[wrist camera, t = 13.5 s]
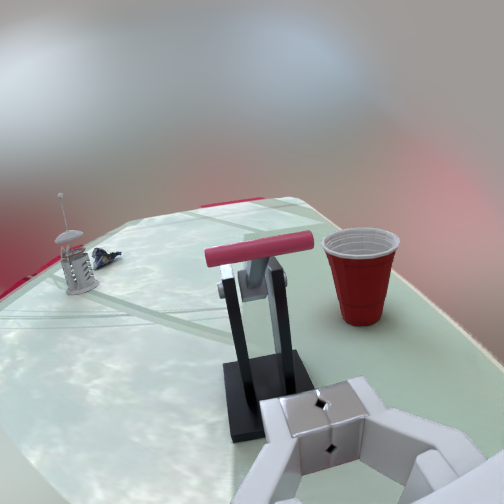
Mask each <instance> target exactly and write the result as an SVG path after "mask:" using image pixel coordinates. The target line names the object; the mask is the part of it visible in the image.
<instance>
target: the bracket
mask: <svg viewBox="0 0 504 504" xmlns="http://www.w3.org/2000/svg"><path fill="white" fill-rule="evenodd" d="M220 269H221V277H222V282H221V283H217V286H218V292H219V297H220V299H223V298H225V299H226V304H227V309H228V314H229V320H230V325H231V330H232V335H233V340H234V345H235V349H236V354H237V359H238V361H235V362H230V363H224V364H223V371H224V380H225V390H226V399H227V408H228V417H229V425H230V434H231V438H232V441H233V443H235V442H241V441H247V440H253V439H258V438H263V437H266V436H265V431H264V425H263V420H262V414H261V408H260V401H262V400H268V399H273V398H278V397H282V396H287V395H292V394H297V393H301V392H306V391H310V390H314V389H315V388H314V386H313V384H312V382H311V380H310V378H309V375H308V373H307V371H306V369H305V367H304V365H303V363H302V361H301V359H300V357H299V355H298V352H297V350H296V349H295V350H292V343H291V334H290V324H289V315H288V306H287V297H286V288H285V287H287V277H286V274H285V272H284V271H283V268H282V267H281V265H280V264H279V262H278V261H277V259H276V258H275V257H274V256H271V257H270V259H269V262H268V265H267V268H266V271H265V278H266V283H267V288H268V299H269V307H270V314H271V321H272V329H273V336H274V344H275V351H276V354H272V355H267V356H262V357H257V358H252V359H249V357H248V352H247V346H246V341H245V335H244V330H243V324H242V319H241V313H240V308H239V302H238V296H237V291H236V285H235V279H234V275H233V270H232V266H231V264H226V265H221V266H220Z"/></svg>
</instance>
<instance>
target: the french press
mask: <svg viewBox="0 0 504 504" xmlns="http://www.w3.org/2000/svg"><path fill="white" fill-rule="evenodd" d="M63 196H64V195H63V194H62V193H59V194H58V195H57V198H60V199H61V197H63ZM61 205H62V201H61ZM62 210H63V206H62ZM63 214H64V211H63ZM64 219H65V216H64ZM65 222H66V220H65ZM66 227H67V225H66ZM82 235H83V232H80V231H77V230H68V229H67V230H66V232H64V233H62V234H60V235H59V236H58V237H57V238H56V240H55V242H56V243H62V242H66V241H70V240H72V239H75V238H77V237H80V236H82ZM70 244H71V241H70ZM68 247H69V246H68V245H67V250H66V251H67V252H66V251H65V250H64V248H63V247H62V248H63V250H64V251H65V252H64V253H63V254H62V248H61V256H60V257H61V259H62V258H65V259H63V260H62V261H61V264H62V267H63V271H64V275H65V278H66V279H67V280H66V281H67V285H68V290H67V292H66V293H67V294H68V295H76V294H81V293H84V292H87V291H89V290H92V289H93V288H95V287H97V286H98V285H99V281H97V280H95V278H94V276H90V275H93V272H92V271H91V272H89V270H92V267H88V266H91V264H90V262H87V263H86V261H90V260H89V256H88V253H83V252H84V251H85V248H82V247H81V248H77V249H72V247H71V249H72V250H71V251H69V250H70V247H69V249H68ZM70 265H72V266H73V267H71V266H70ZM87 265H88V266H87ZM72 269H73V270H74V271H72ZM71 271H72V272H71ZM72 274H75V276H72ZM75 278H76V280H75V281H74V279H75Z"/></svg>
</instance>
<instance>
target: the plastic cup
mask: <svg viewBox="0 0 504 504" xmlns="http://www.w3.org/2000/svg"><path fill="white" fill-rule="evenodd" d="M399 244H400V239H399V238H398V236H397V235H395V234H393V233H391V232H389V231H385V230H381V229H377V228H349V229H344V230H339V231H335V232H333V233H330V234H328V235H326V236H325V237H324V238H323V239H322V240H321V246H322V249H323V250H324V251H325V253H326V255H327V258H328V260H329V265H330V266H331V270H332V275H333V279H334V284H335V288H336V293H337V297H338V300H339V303H340V308H341V313H342V316H343V319H344V320H345V321H346V322H347V323H349V324H351V325H356V326H367V325H371V324H374V323H375V322H377V321H378V320H379V319H380V317H381V314H382V311H383V306H384V301H385V297H386V294H387V289H388V284H389V278H390V273H391V267H392V262H393V259H394V255H395V251H396V250H397V248H398V246H399Z"/></svg>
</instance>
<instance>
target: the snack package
mask: <svg viewBox="0 0 504 504" xmlns="http://www.w3.org/2000/svg"><path fill="white" fill-rule="evenodd" d="M117 255H121V252H116V253H113V252H112V253H111V254H107V253H106V251H105V250H103V249H101V248H100V249H99V248H95V249H94V251H93V253H92V257H93V258H95V261H94V264H93V265H94V267H93V269H95V270H96V269H97V267H99V266H102V265H104V264H106V263H108V262H110V261H112V260H113V259H114V258H115V257H116V256H117Z"/></svg>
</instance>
